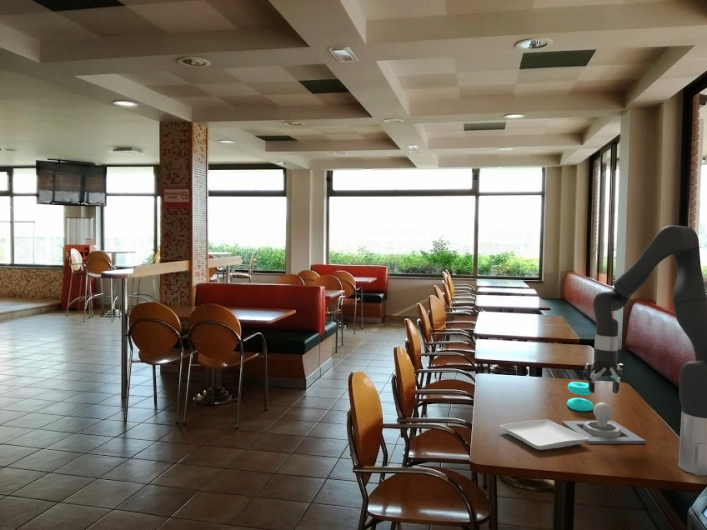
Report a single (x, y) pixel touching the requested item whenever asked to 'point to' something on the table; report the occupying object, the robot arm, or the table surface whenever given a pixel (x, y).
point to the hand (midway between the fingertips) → (603, 392)
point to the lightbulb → (602, 414)
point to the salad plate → (543, 434)
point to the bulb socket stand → (603, 432)
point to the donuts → (579, 403)
